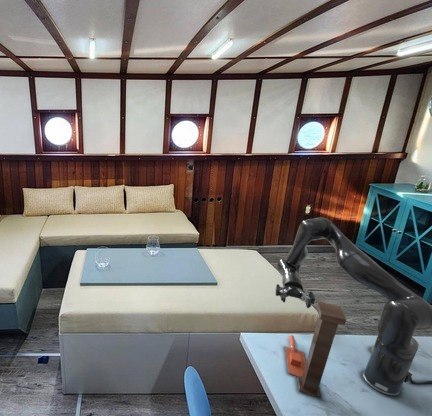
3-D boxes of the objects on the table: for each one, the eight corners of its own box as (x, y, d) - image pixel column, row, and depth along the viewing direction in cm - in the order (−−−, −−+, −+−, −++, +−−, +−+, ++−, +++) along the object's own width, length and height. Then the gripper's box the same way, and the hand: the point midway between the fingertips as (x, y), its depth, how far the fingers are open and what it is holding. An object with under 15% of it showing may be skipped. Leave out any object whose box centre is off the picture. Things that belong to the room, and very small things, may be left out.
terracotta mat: (285, 348, 113) (285, 347, 113) (303, 353, 110) (303, 352, 110) (288, 373, 102) (288, 372, 102) (308, 380, 99) (308, 379, 99)
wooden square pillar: (296, 376, 101) (317, 301, 91) (317, 383, 98) (340, 306, 88) (299, 392, 95) (321, 313, 85) (320, 399, 93) (346, 319, 83)
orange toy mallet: (286, 336, 118) (287, 331, 118) (295, 338, 117) (296, 333, 116) (290, 364, 105) (291, 358, 104) (300, 367, 104) (301, 361, 103)
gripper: (276, 272, 134) (278, 291, 120) (312, 280, 128) (318, 300, 114) (273, 286, 136) (275, 306, 122) (308, 294, 130) (314, 315, 116)
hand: (296, 303), depth 118 cm, fingers open, 8 cm apart
